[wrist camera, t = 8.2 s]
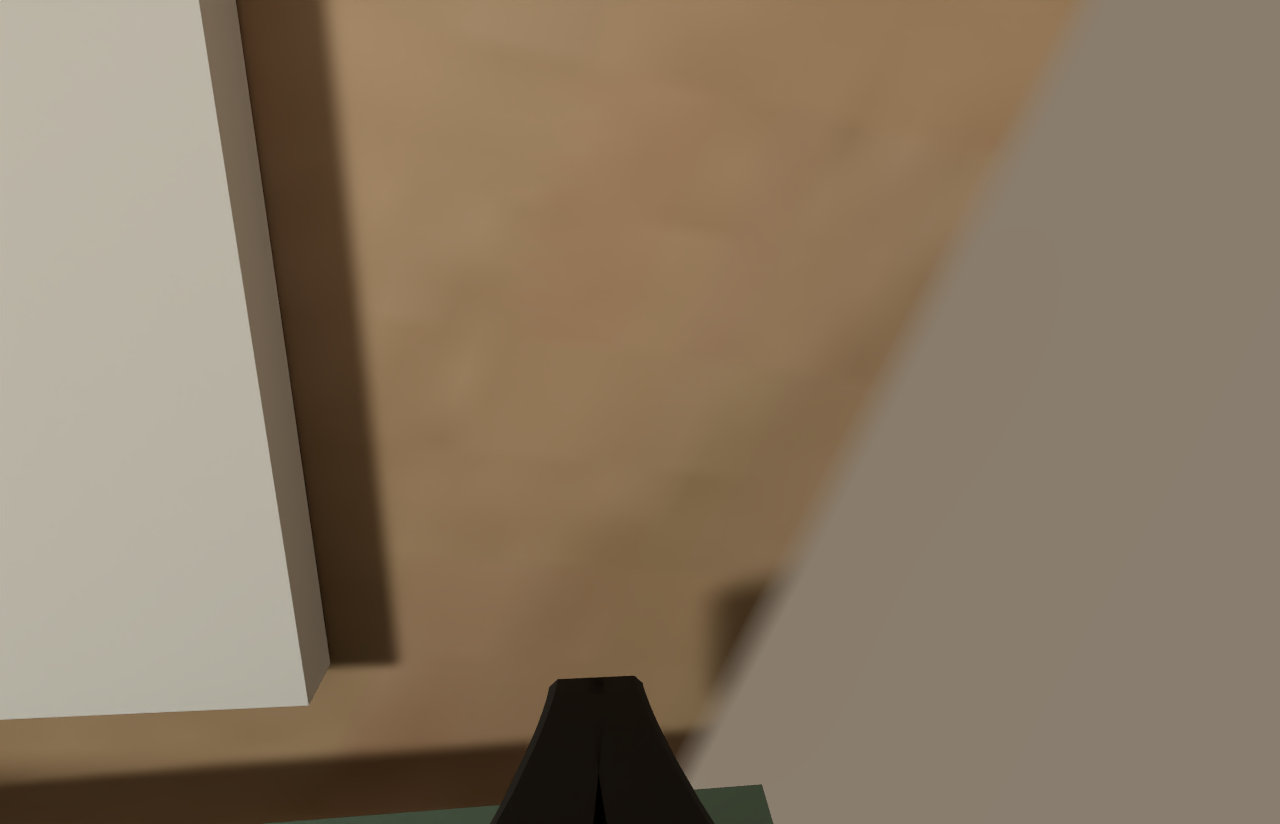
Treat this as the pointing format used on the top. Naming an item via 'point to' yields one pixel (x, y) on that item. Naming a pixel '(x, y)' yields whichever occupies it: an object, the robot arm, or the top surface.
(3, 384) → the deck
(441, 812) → the bar
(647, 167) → the top surface
